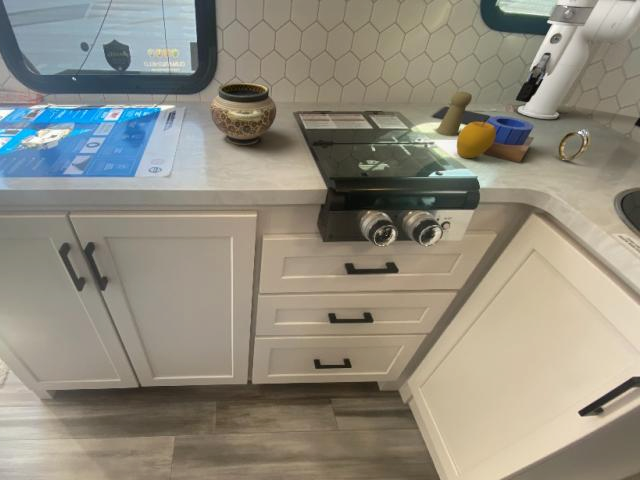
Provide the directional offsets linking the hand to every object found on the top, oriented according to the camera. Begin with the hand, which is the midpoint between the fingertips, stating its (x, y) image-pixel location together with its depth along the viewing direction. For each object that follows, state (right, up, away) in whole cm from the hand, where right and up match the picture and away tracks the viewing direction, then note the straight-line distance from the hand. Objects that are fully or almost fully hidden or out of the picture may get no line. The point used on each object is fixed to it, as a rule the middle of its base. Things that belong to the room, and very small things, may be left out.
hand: (524, 97), depth 93 cm
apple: (-15, -16, +1) cm, 22 cm away
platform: (-3, -11, +6) cm, 13 cm away
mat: (0, +9, +27) cm, 28 cm away
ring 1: (-3, -9, +4) cm, 10 cm away
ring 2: (+12, -16, +2) cm, 20 cm away
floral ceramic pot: (-77, -9, +6) cm, 78 cm away
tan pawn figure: (-12, -2, +15) cm, 20 cm away
